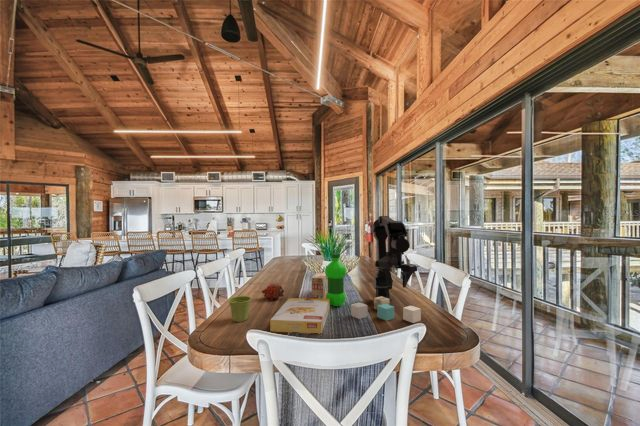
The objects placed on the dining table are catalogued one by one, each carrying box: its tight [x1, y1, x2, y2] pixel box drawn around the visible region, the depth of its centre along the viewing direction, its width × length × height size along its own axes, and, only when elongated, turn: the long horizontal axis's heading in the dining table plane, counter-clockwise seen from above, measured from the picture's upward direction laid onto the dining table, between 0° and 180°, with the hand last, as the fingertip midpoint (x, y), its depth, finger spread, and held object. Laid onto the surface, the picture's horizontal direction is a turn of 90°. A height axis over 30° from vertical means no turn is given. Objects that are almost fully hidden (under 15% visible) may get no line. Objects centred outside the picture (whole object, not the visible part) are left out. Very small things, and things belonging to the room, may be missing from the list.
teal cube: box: [376, 304, 395, 322], centre depth 122 cm, size 5×5×5 cm
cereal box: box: [269, 297, 331, 335], centre depth 121 cm, size 20×6×28 cm
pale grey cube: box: [350, 301, 368, 320], centre depth 124 cm, size 5×5×5 cm
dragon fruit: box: [261, 283, 285, 301], centre depth 150 cm, size 8×8×12 cm
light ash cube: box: [373, 296, 391, 310], centre depth 133 cm, size 5×5×5 cm
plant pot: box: [228, 295, 252, 323], centre depth 121 cm, size 9×9×9 cm
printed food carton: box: [311, 272, 328, 299], centre depth 156 cm, size 21×6×12 cm, turn 167°
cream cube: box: [402, 305, 422, 324], centre depth 119 cm, size 5×5×5 cm
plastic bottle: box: [324, 252, 347, 307], centre depth 139 cm, size 10×10×25 cm
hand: (395, 285), depth 124 cm, fingers open, 9 cm apart
